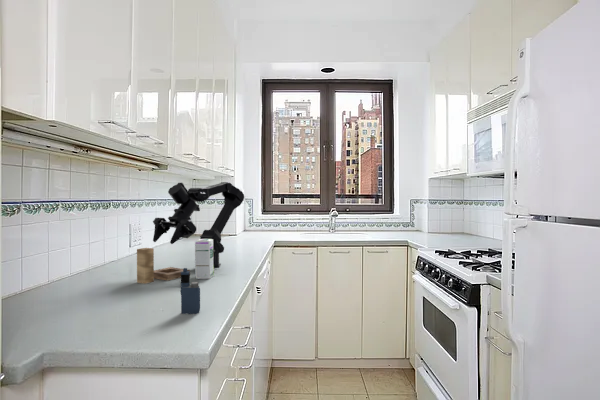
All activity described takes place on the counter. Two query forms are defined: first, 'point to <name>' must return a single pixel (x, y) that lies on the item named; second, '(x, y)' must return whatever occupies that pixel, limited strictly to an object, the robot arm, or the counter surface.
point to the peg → (145, 265)
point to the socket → (168, 273)
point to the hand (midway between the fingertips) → (162, 242)
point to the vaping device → (189, 294)
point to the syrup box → (204, 259)
